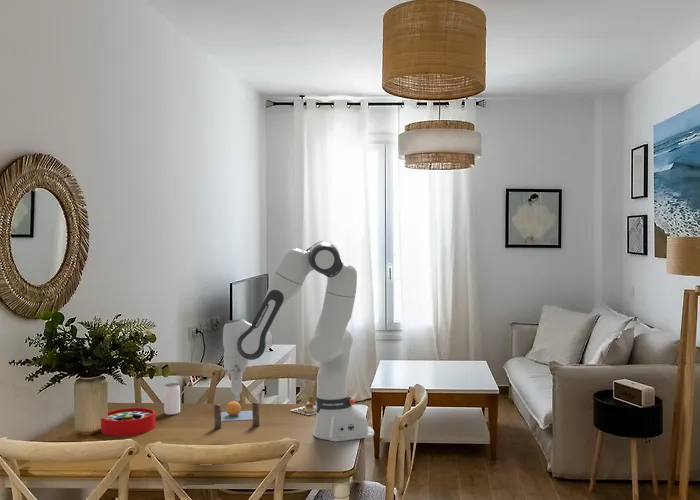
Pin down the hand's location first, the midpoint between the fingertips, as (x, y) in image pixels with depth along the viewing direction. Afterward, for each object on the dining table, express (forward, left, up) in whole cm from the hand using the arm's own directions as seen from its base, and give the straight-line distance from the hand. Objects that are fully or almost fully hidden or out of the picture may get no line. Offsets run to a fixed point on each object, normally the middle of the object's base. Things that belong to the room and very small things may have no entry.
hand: (237, 400), depth 252 cm
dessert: (-30, -31, -14) cm, 45 cm away
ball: (+2, -30, -10) cm, 32 cm away
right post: (-7, -13, -13) cm, 20 cm away
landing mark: (0, -29, -13) cm, 32 cm away
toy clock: (+42, -20, -14) cm, 48 cm away
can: (+27, -40, -14) cm, 50 cm away
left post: (+8, -13, -13) cm, 20 cm away
